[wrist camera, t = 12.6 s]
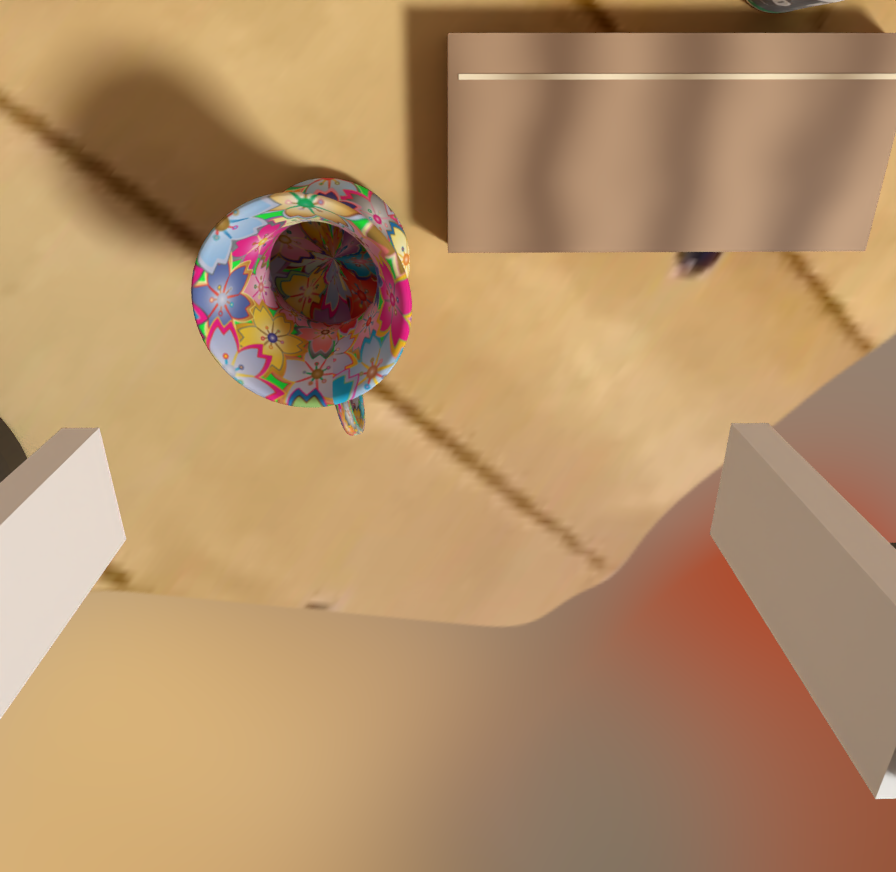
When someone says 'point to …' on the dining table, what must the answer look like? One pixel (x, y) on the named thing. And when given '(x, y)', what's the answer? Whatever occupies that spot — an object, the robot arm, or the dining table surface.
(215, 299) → the mug
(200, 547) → the dining table surface
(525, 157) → the board
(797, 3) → the pill bottle
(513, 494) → the dining table surface
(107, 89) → the dining table surface
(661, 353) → the dining table surface
